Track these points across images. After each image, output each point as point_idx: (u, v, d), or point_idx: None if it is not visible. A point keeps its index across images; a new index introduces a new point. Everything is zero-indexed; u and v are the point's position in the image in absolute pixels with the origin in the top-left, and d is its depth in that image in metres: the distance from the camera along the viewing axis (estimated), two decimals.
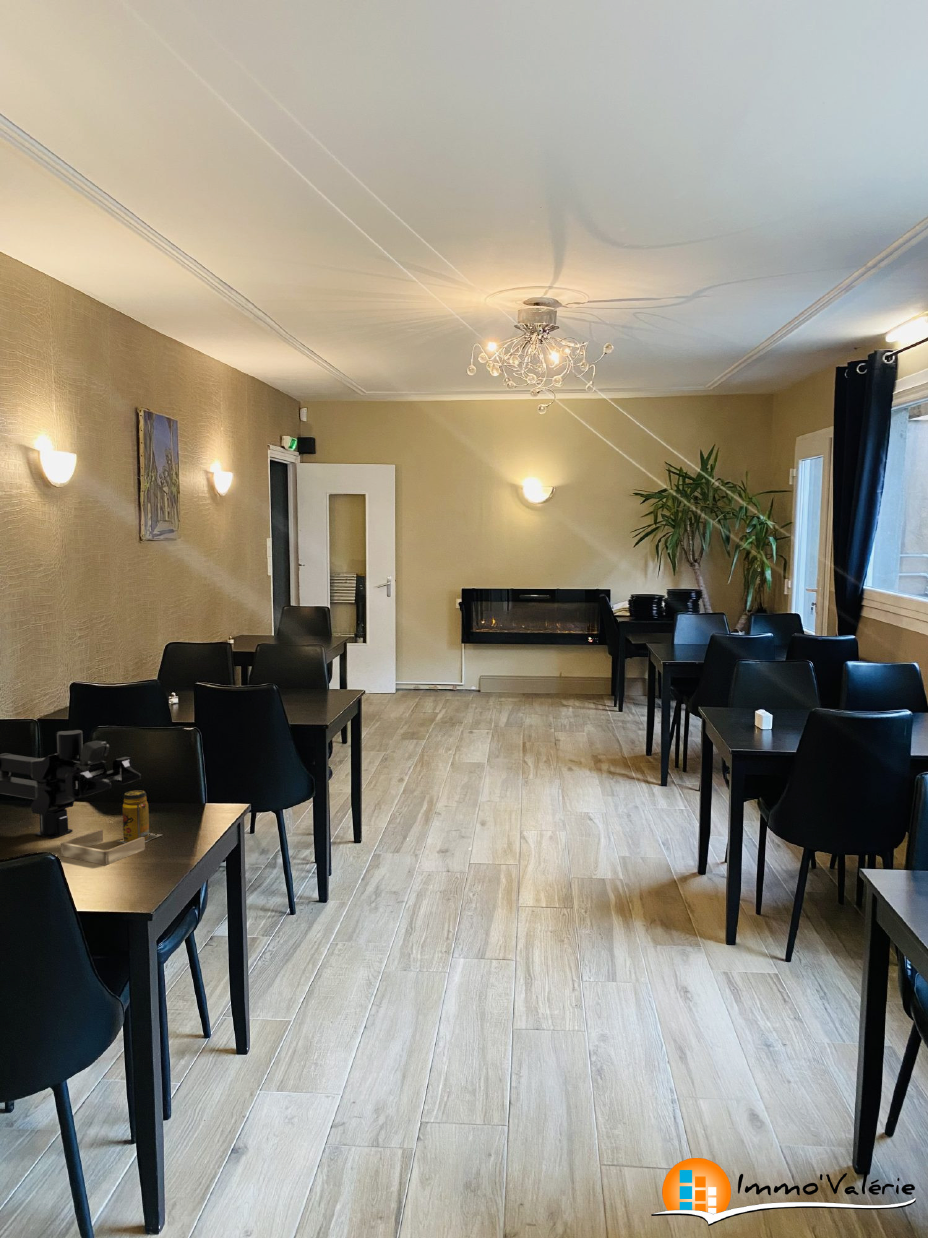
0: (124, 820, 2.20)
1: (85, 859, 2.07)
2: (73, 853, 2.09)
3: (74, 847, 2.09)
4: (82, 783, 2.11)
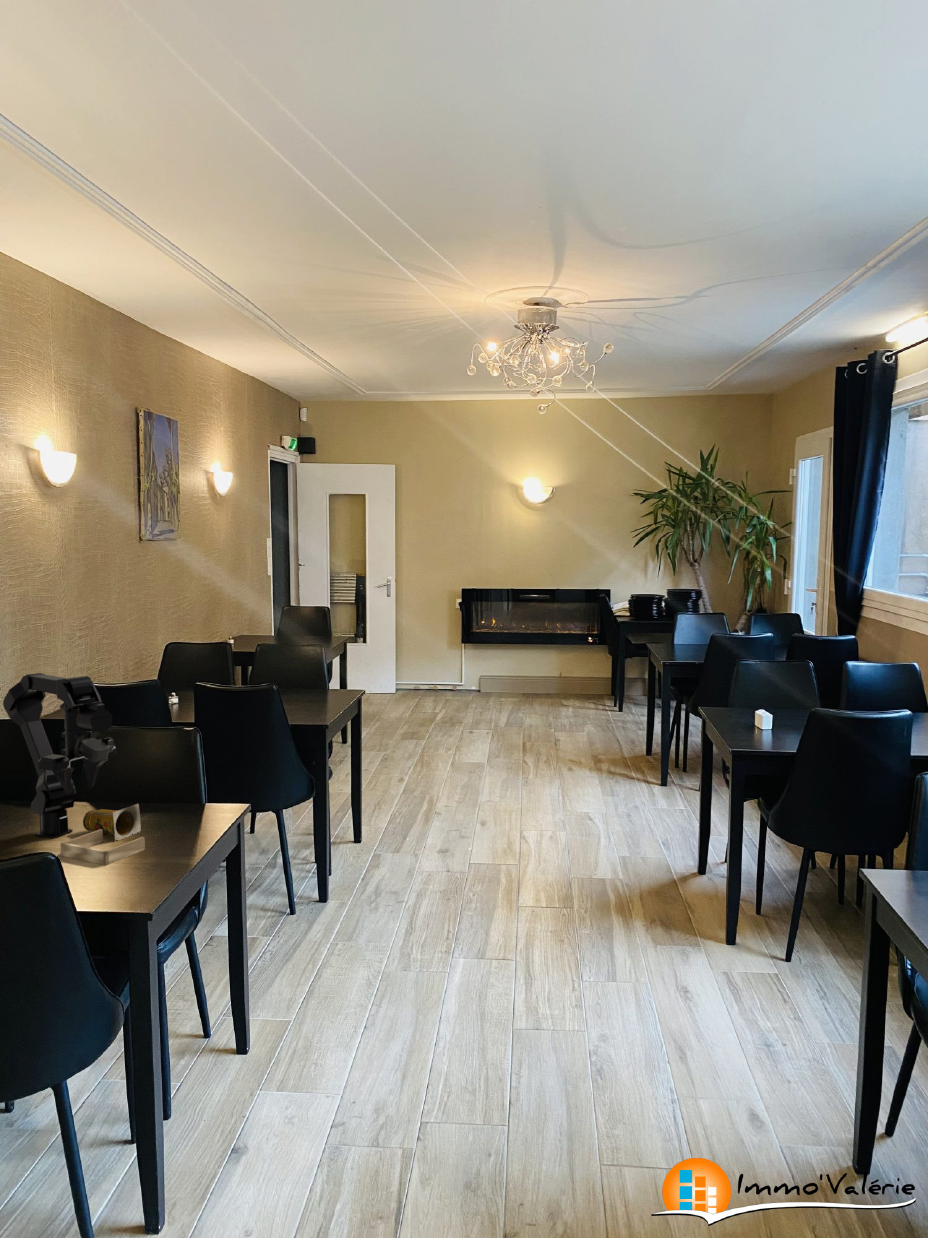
0: (99, 828, 2.24)
1: (85, 859, 2.07)
2: (73, 853, 2.09)
3: (74, 847, 2.09)
4: None
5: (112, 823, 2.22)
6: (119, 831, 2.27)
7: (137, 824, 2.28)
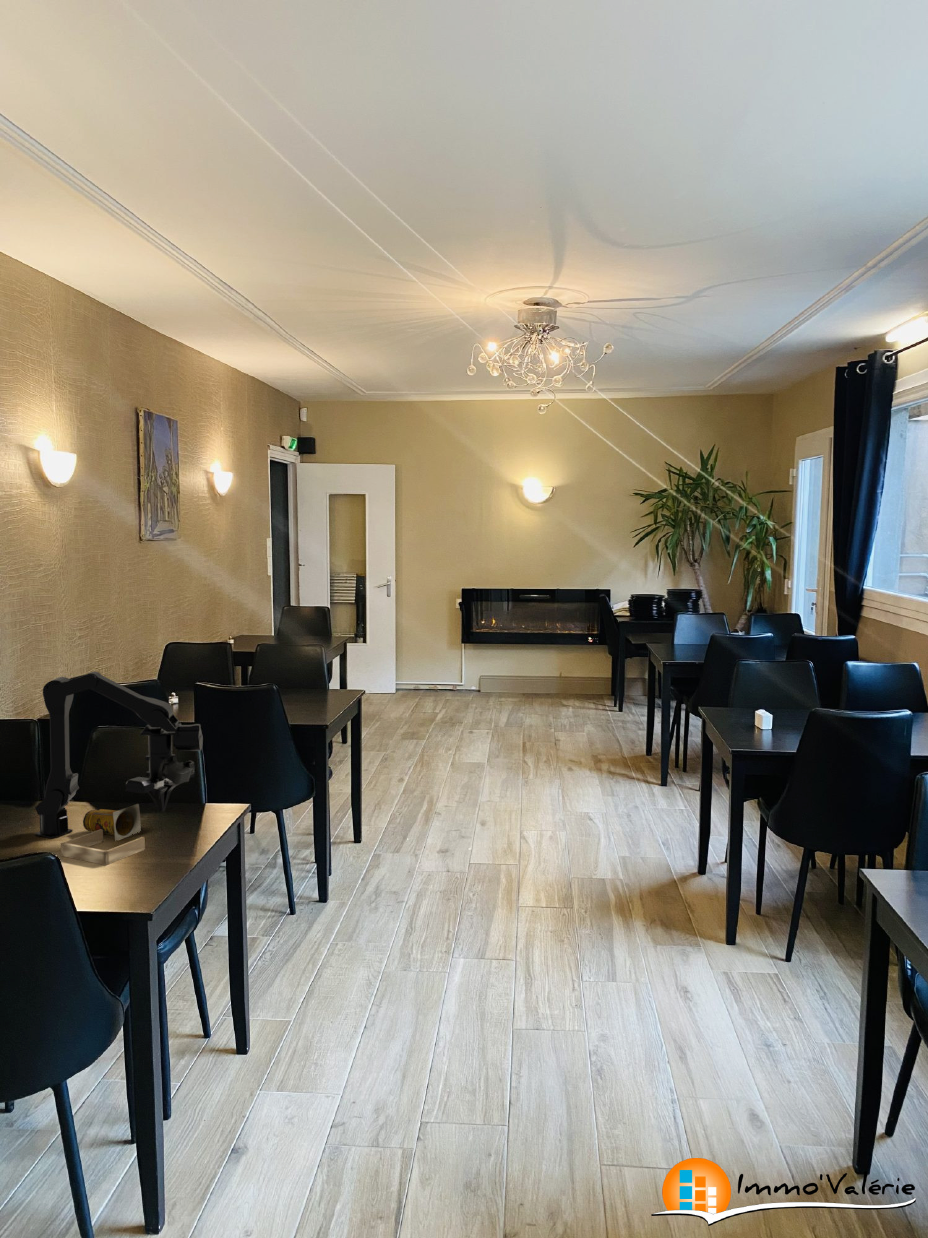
0: (99, 828, 2.24)
1: (85, 859, 2.07)
2: (73, 853, 2.09)
3: (74, 847, 2.09)
4: None
5: (112, 823, 2.22)
6: (119, 831, 2.27)
7: (137, 824, 2.28)
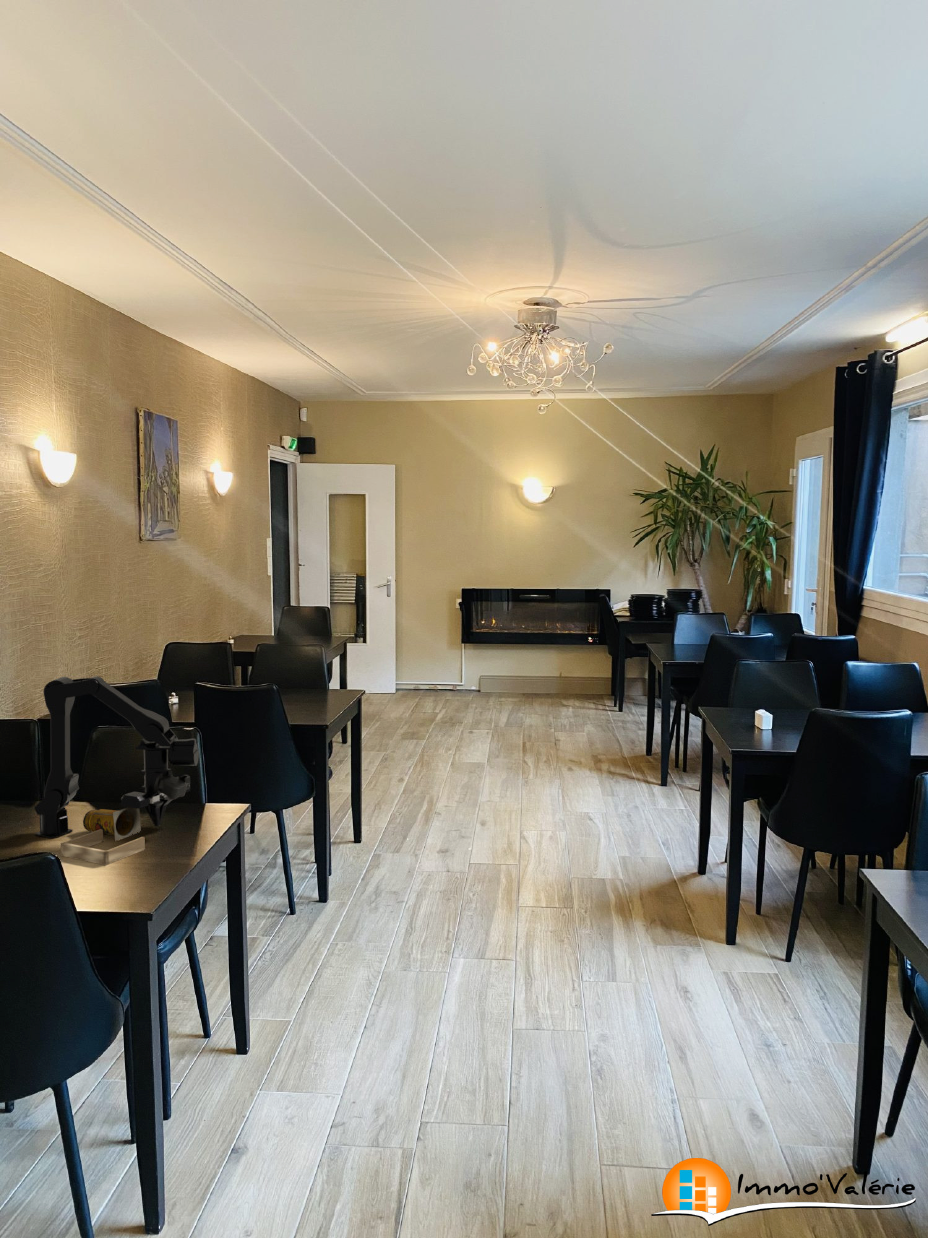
0: (100, 828, 2.24)
1: (85, 859, 2.07)
2: (73, 853, 2.09)
3: (74, 847, 2.09)
4: None
5: (112, 823, 2.22)
6: (119, 831, 2.27)
7: (137, 824, 2.28)
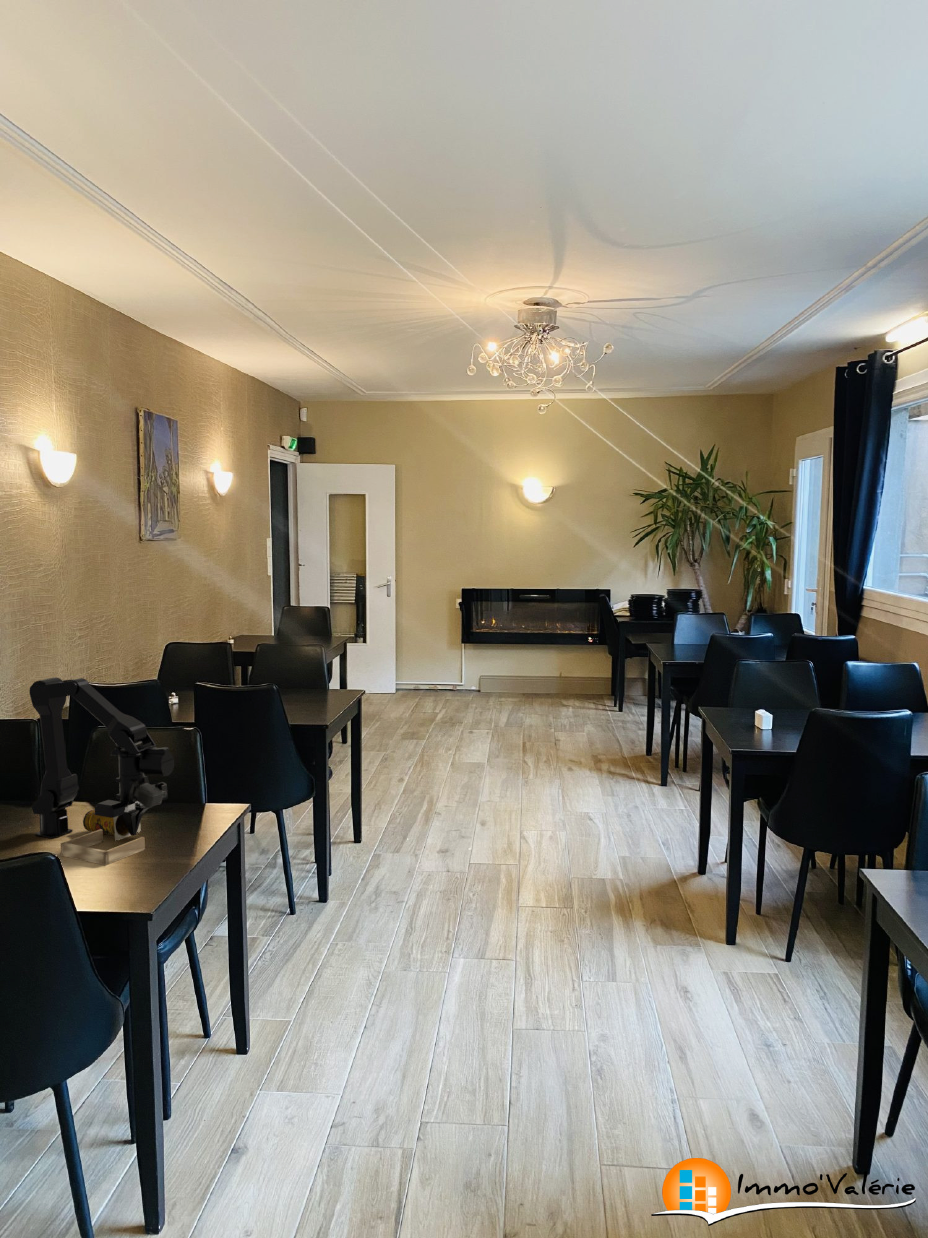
0: (99, 828, 2.24)
1: (85, 859, 2.07)
2: (73, 853, 2.09)
3: (74, 847, 2.09)
4: None
5: (112, 823, 2.22)
6: (119, 831, 2.27)
7: None
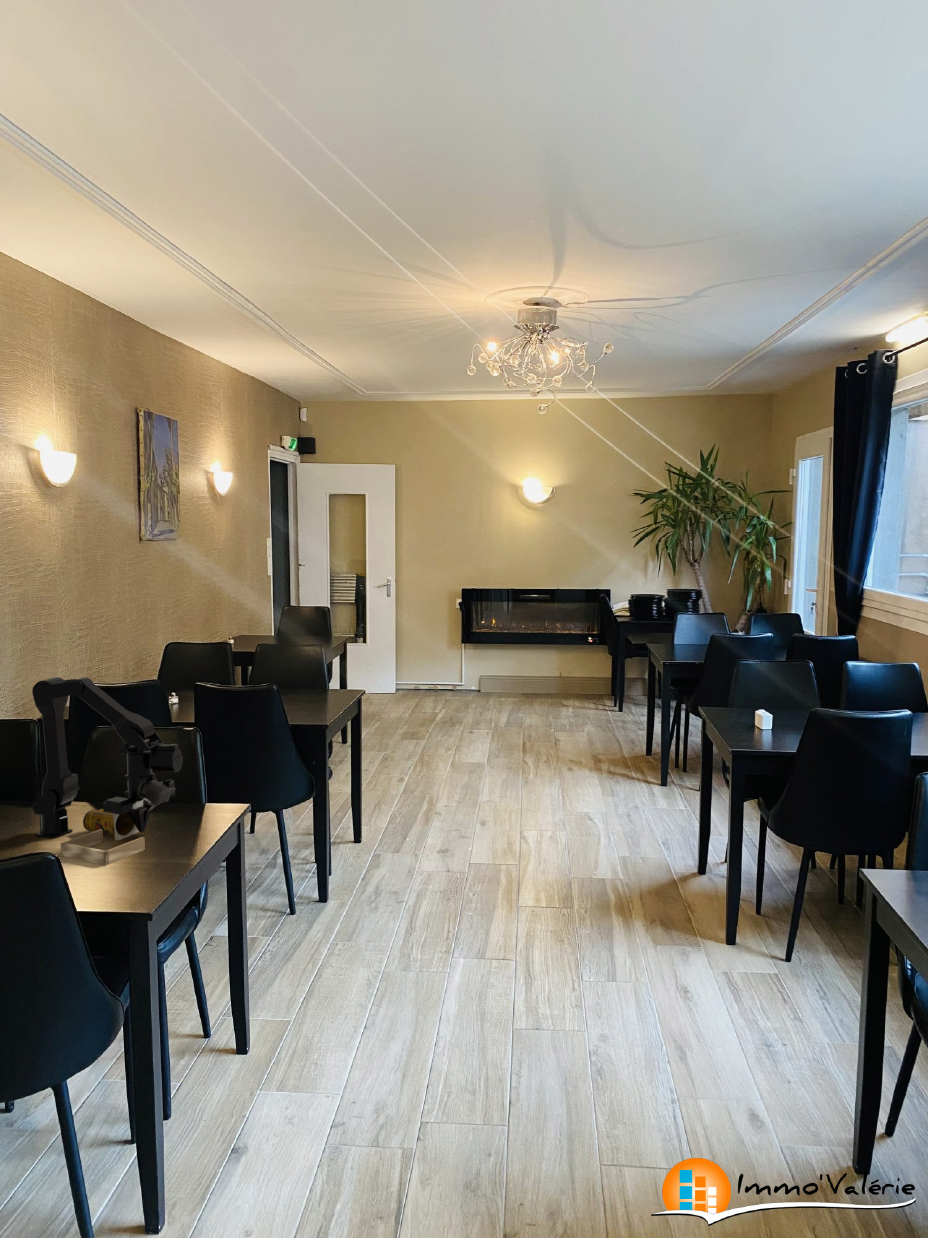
0: (99, 828, 2.24)
1: (85, 859, 2.07)
2: (73, 853, 2.09)
3: (74, 847, 2.09)
4: None
5: (112, 823, 2.22)
6: (119, 831, 2.27)
7: None
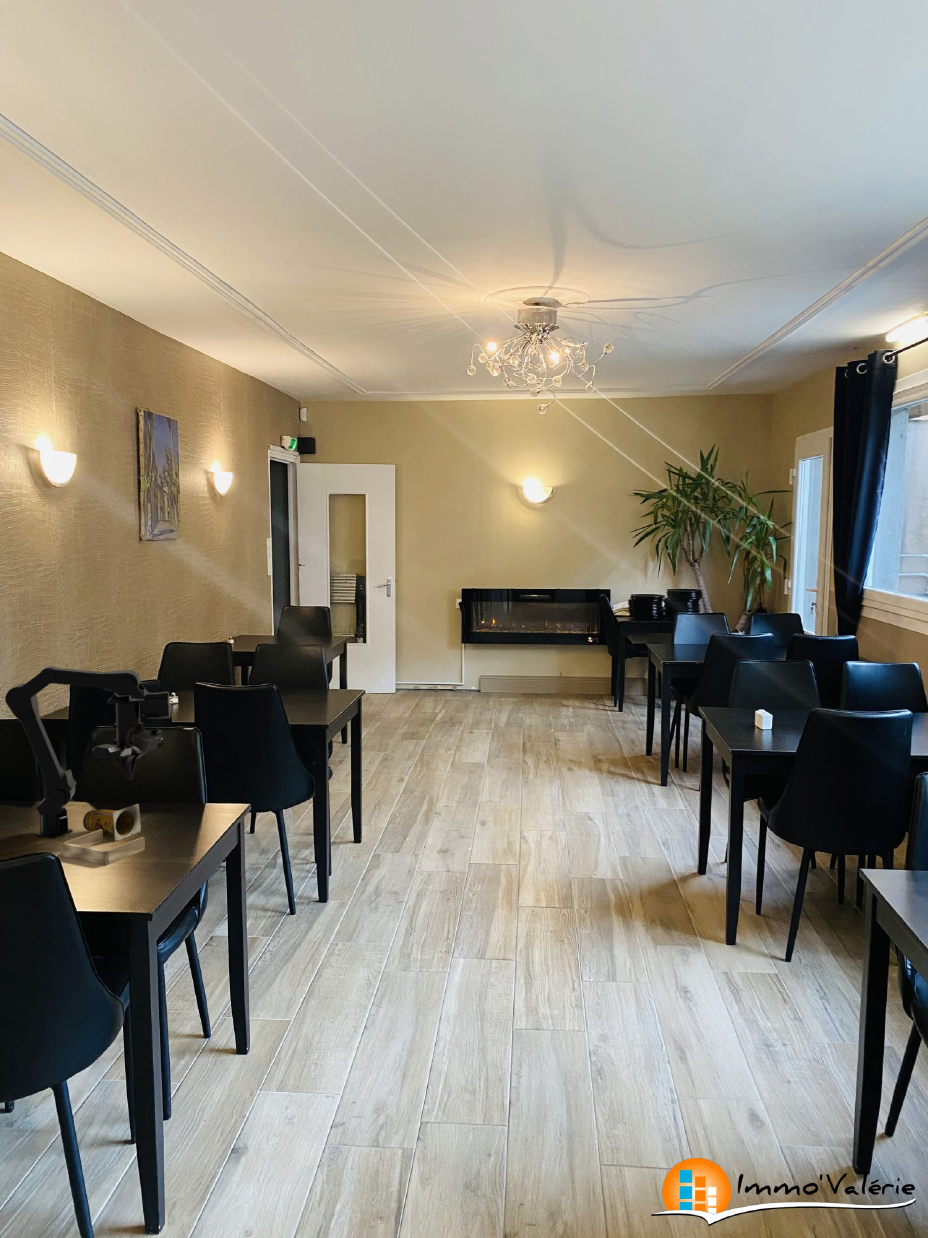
0: (99, 828, 2.24)
1: (85, 859, 2.07)
2: (73, 853, 2.09)
3: (74, 847, 2.09)
4: None
5: (112, 823, 2.22)
6: (119, 831, 2.27)
7: (137, 824, 2.28)
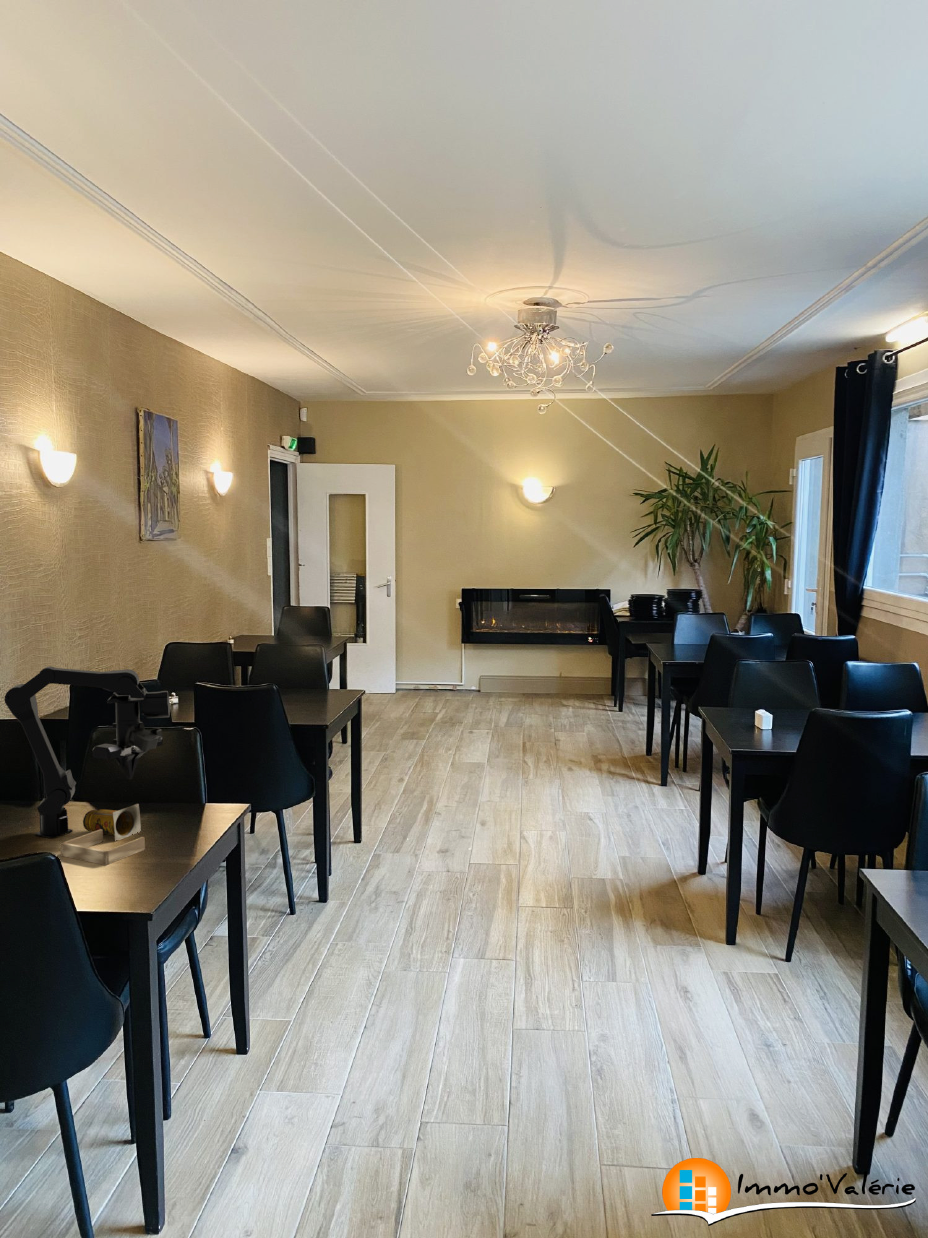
0: (99, 828, 2.24)
1: (85, 859, 2.07)
2: (73, 853, 2.09)
3: (74, 847, 2.09)
4: None
5: (112, 823, 2.22)
6: (119, 831, 2.27)
7: (137, 824, 2.28)
